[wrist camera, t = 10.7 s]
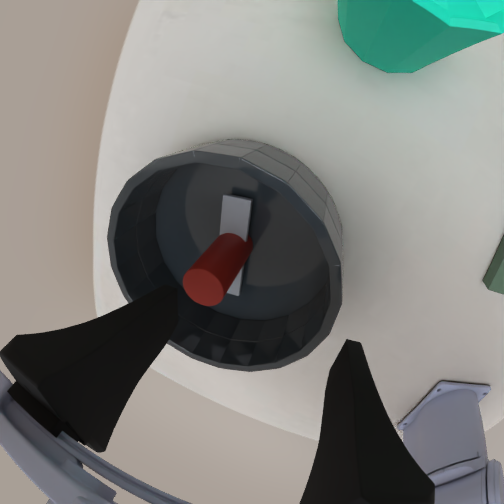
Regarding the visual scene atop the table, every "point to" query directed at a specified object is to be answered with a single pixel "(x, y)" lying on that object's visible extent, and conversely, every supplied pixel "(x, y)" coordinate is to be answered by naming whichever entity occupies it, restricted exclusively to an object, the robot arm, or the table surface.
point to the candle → (416, 29)
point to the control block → (496, 271)
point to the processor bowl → (256, 266)
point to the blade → (223, 255)
